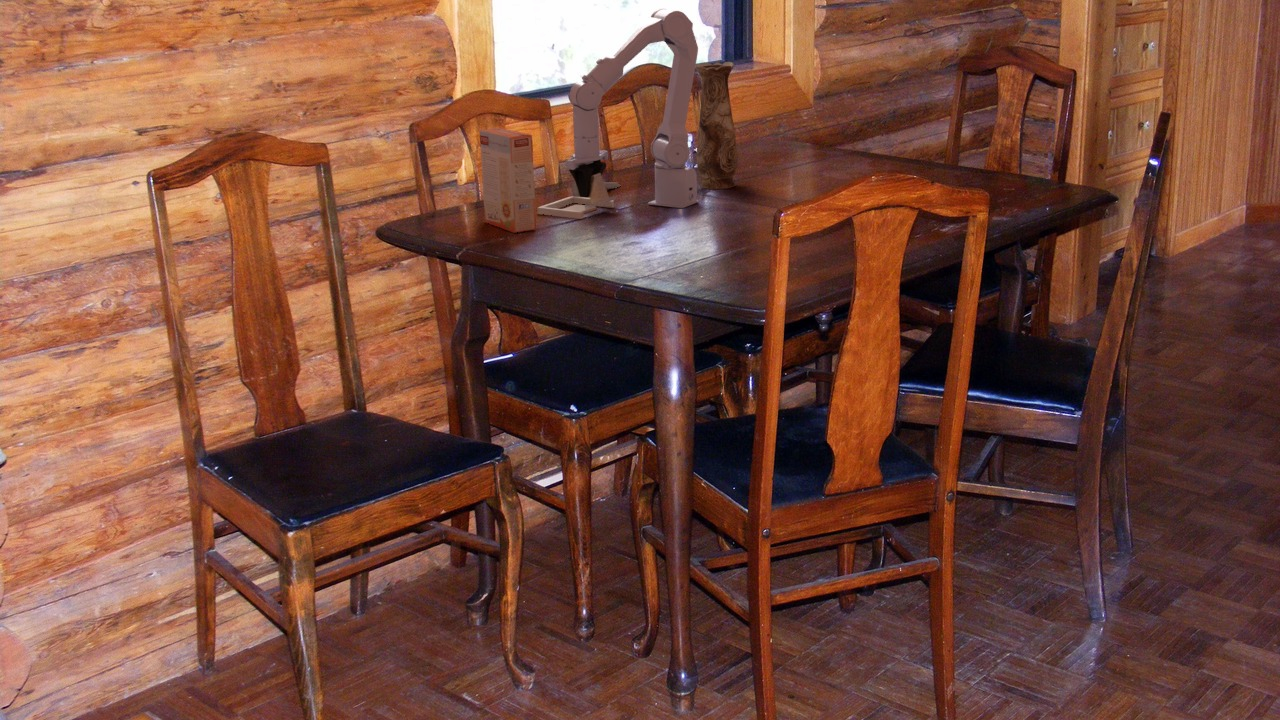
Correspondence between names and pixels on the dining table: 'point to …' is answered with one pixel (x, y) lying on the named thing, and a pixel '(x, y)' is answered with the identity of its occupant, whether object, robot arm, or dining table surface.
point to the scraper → (598, 192)
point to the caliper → (607, 184)
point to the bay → (553, 207)
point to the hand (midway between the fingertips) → (588, 195)
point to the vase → (716, 128)
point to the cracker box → (508, 179)
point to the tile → (580, 208)
